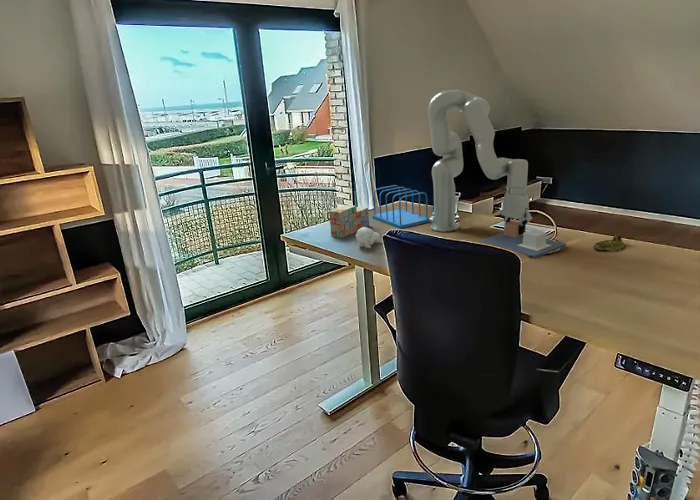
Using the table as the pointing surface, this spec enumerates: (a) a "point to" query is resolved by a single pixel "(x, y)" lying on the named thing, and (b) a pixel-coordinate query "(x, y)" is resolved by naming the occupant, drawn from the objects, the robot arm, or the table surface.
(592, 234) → the table surface
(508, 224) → the top block
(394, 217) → the file sorter
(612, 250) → the seal
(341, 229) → the stack of blocks
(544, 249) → the board
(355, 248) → the table surface
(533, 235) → the base block
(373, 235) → the white animal figurine
